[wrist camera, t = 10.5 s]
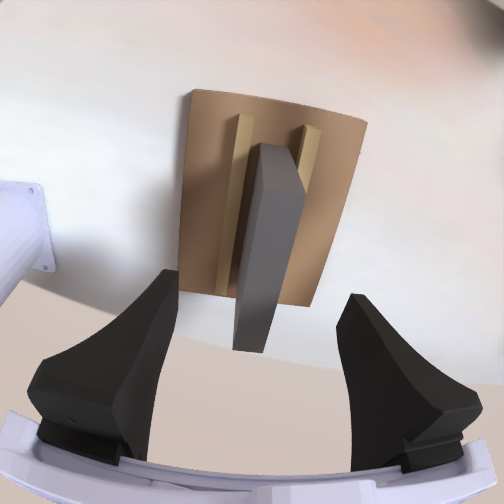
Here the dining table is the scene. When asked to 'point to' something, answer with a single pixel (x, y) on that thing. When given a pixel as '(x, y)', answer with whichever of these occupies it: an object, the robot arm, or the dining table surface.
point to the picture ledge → (241, 181)
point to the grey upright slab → (266, 245)
